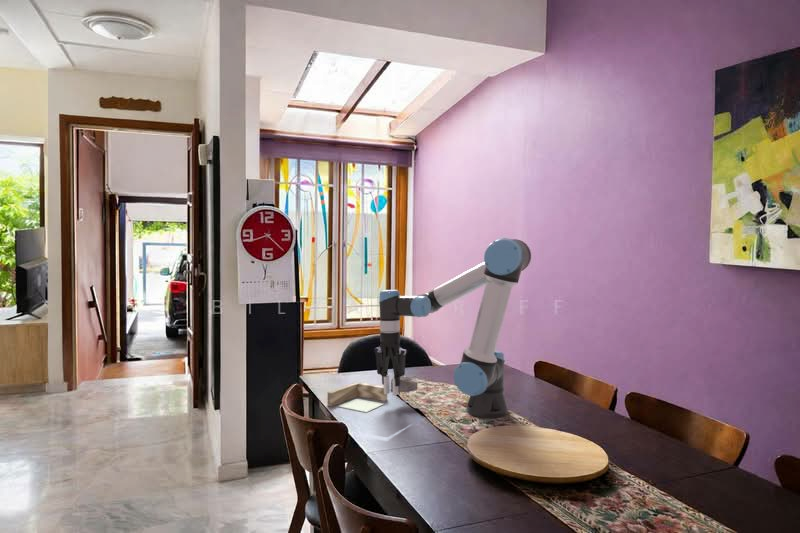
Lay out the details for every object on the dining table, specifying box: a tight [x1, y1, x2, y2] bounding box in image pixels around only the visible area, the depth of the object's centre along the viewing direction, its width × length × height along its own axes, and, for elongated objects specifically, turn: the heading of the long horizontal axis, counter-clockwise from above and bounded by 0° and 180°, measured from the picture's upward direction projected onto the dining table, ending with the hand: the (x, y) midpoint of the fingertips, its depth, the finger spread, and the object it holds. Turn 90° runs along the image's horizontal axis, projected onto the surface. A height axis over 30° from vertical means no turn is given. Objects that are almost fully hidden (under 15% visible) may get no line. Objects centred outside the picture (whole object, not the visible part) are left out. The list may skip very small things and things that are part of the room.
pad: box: [337, 398, 385, 414], centre depth 199 cm, size 13×12×1 cm
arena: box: [327, 382, 388, 407], centre depth 203 cm, size 15×18×5 cm
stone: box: [390, 375, 418, 394], centre depth 200 cm, size 10×8×6 cm
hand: (391, 393), depth 197 cm, fingers closed on stone, 3 cm apart
